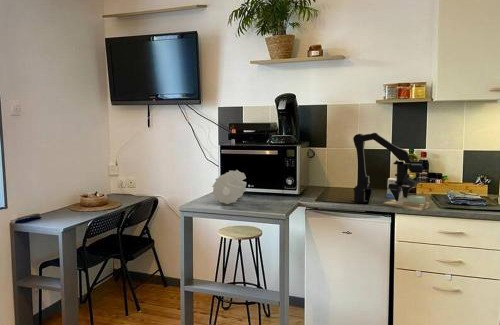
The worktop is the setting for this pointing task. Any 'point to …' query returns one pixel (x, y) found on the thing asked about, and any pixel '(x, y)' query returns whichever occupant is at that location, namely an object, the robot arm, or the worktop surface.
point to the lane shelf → (408, 205)
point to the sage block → (412, 199)
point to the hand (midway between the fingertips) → (401, 200)
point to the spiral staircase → (229, 187)
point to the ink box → (389, 193)
